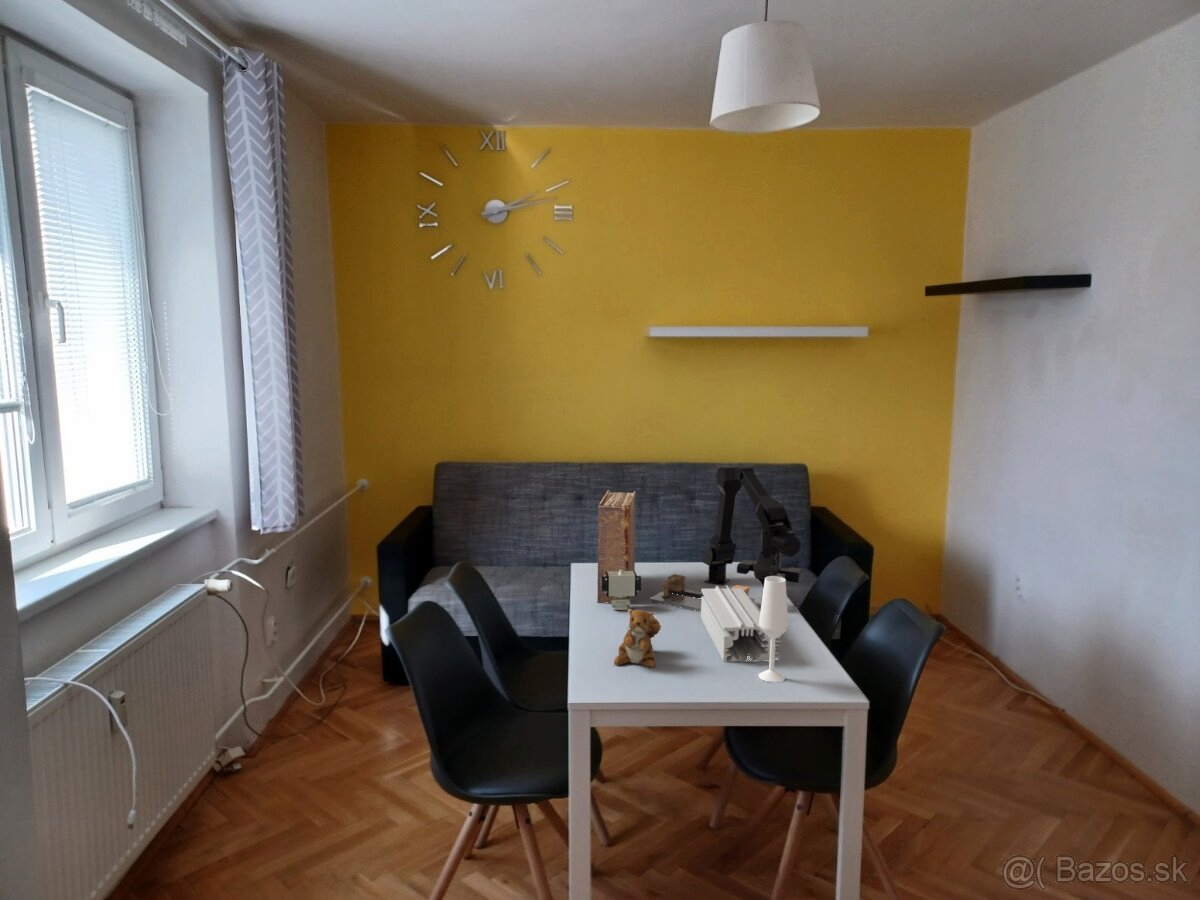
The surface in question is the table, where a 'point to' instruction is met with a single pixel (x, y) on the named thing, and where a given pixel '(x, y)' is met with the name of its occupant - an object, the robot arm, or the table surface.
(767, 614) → the champagne flute
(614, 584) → the pneumatic valve
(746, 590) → the sliding leg
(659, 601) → the bolt-hole strip
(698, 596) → the rail
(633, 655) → the stuffed squirrel
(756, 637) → the aluminum extrusion profile
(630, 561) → the book
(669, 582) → the fixed leg
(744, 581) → the table surface
